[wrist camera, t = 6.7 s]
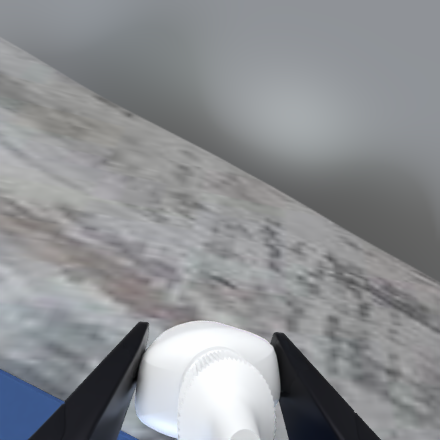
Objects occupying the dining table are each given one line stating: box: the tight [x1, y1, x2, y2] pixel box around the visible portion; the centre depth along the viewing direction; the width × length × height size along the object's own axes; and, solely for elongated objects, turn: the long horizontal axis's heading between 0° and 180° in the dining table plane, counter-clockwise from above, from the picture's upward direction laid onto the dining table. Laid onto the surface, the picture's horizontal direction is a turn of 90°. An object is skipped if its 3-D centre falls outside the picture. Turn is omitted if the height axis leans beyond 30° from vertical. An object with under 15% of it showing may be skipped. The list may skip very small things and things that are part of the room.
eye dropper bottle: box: [135, 321, 281, 440], centre depth 9 cm, size 4×6×12 cm
